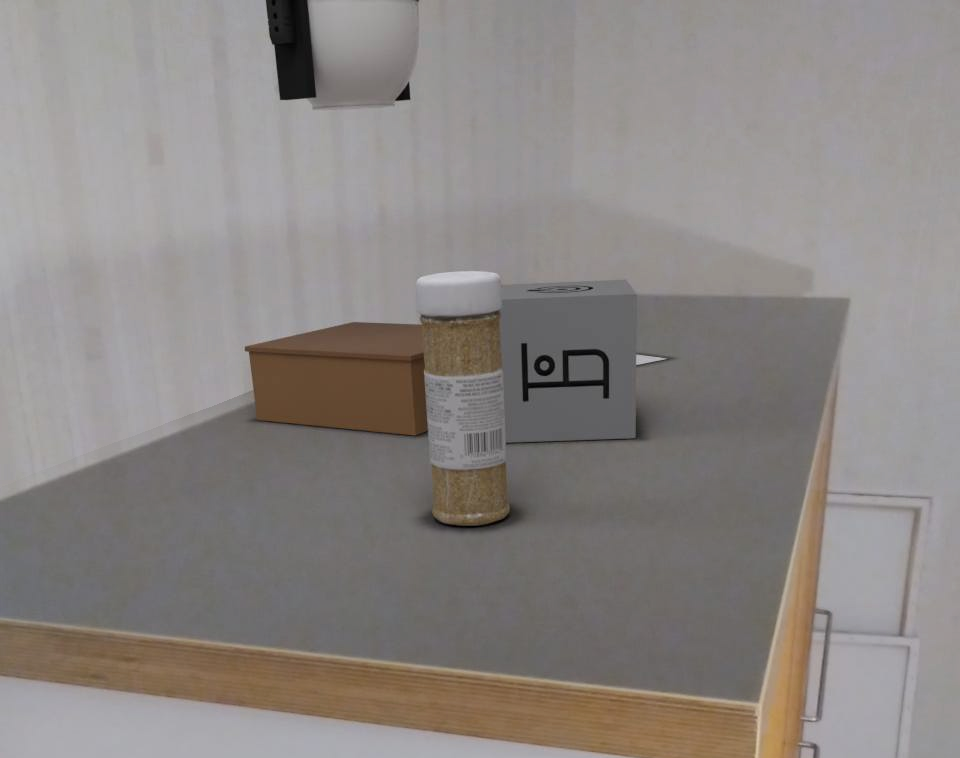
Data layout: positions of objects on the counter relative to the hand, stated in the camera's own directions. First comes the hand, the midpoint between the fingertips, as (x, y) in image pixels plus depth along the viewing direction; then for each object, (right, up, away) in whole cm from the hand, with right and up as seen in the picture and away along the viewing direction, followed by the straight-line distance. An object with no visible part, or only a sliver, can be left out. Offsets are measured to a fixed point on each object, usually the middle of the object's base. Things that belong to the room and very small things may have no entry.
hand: (348, 100), depth 83 cm
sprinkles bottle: (+9, -33, -18) cm, 39 cm away
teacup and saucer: (+14, -12, +30) cm, 35 cm away
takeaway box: (+2, -21, +11) cm, 24 cm away
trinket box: (0, -1, 0) cm, 1 cm away
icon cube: (+16, -24, +3) cm, 29 cm away
